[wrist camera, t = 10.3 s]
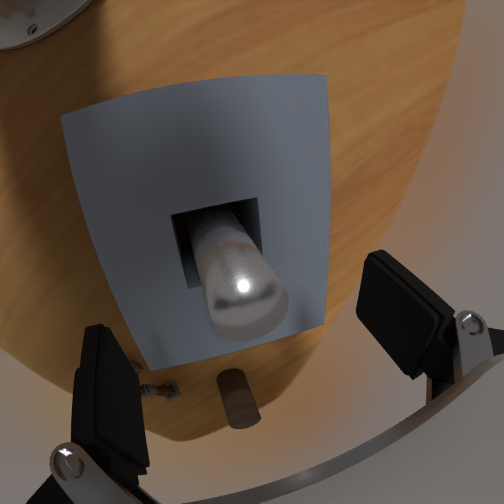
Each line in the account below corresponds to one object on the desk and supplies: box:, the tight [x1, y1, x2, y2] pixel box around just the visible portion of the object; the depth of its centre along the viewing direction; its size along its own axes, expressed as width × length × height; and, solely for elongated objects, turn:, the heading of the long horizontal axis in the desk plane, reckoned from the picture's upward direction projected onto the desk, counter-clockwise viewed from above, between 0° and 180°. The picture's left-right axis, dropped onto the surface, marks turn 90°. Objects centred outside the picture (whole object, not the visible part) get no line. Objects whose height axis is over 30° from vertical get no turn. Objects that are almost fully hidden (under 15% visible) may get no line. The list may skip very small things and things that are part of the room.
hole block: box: [60, 74, 331, 371], centre depth 18 cm, size 18×14×5 cm
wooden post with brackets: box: [130, 361, 181, 401], centre depth 25 cm, size 2×8×4 cm, turn 35°
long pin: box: [185, 203, 289, 341], centre depth 16 cm, size 3×3×11 cm
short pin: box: [216, 369, 261, 429], centre depth 27 cm, size 3×3×6 cm
